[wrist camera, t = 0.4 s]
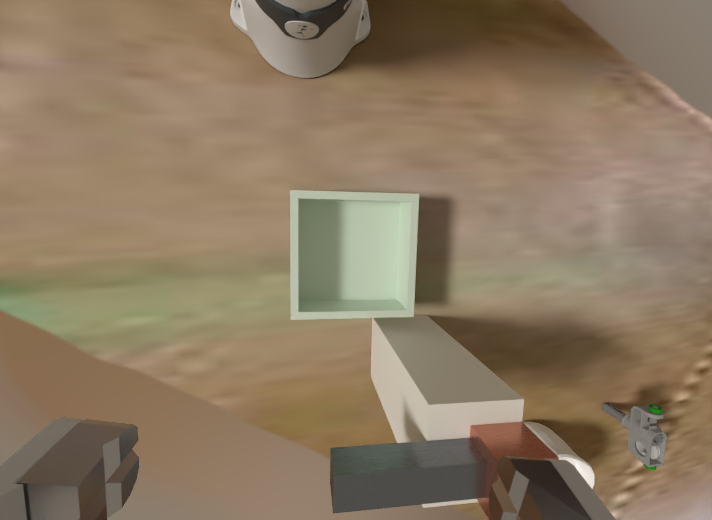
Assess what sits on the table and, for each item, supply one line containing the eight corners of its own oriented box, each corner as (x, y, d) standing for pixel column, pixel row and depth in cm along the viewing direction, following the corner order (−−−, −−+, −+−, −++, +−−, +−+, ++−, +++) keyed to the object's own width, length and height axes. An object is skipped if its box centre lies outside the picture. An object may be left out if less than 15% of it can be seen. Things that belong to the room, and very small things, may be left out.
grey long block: (330, 435, 30) (335, 476, 25) (522, 421, 32) (558, 457, 28) (330, 494, 31) (334, 546, 26) (516, 477, 33) (551, 521, 29)
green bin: (292, 192, 52) (290, 190, 45) (404, 195, 54) (419, 193, 48) (292, 305, 54) (290, 319, 47) (400, 303, 57) (413, 316, 50)
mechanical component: (614, 379, 65) (670, 409, 55) (610, 431, 66) (664, 469, 56) (600, 381, 64) (653, 411, 54) (596, 433, 66) (647, 472, 56)
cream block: (372, 316, 56) (428, 404, 31) (427, 315, 58) (524, 399, 32) (370, 376, 58) (423, 507, 32) (424, 373, 59) (514, 498, 34)
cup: (498, 425, 63) (533, 464, 53) (550, 411, 64) (593, 447, 54) (504, 472, 64) (539, 518, 55) (554, 458, 65) (597, 501, 56)
